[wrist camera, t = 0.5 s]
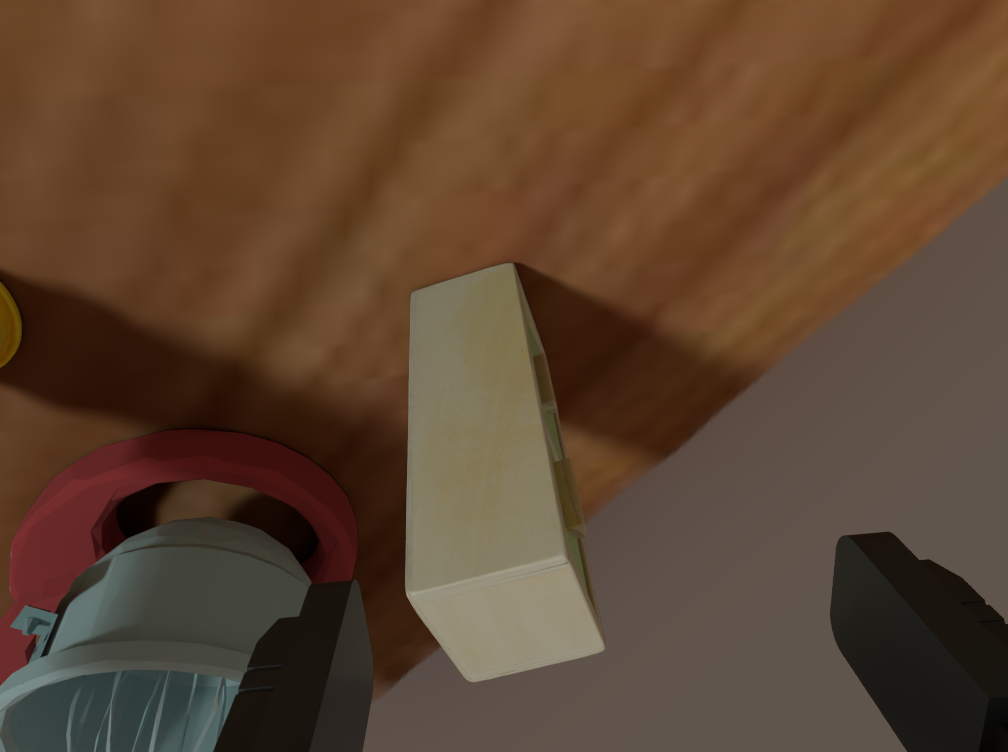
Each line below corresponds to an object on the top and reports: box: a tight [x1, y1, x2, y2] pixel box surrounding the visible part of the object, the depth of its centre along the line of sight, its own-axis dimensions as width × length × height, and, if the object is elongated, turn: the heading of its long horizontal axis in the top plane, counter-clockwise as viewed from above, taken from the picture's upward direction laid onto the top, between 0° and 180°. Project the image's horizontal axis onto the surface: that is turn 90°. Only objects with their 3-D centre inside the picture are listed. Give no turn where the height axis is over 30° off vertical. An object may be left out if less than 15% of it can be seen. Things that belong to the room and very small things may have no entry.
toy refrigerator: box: [405, 263, 606, 682], centre depth 38 cm, size 8×7×21 cm
